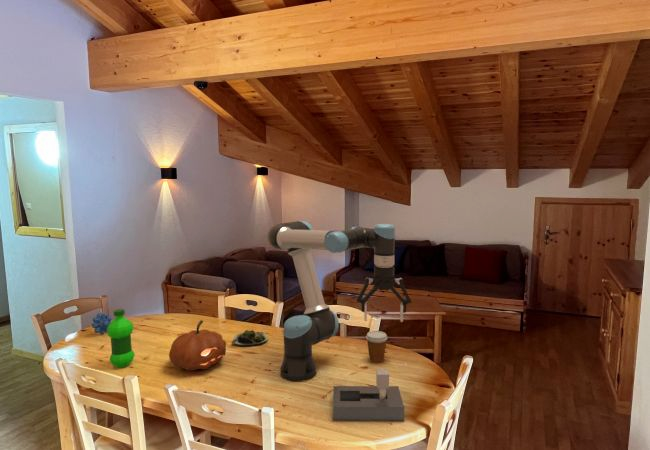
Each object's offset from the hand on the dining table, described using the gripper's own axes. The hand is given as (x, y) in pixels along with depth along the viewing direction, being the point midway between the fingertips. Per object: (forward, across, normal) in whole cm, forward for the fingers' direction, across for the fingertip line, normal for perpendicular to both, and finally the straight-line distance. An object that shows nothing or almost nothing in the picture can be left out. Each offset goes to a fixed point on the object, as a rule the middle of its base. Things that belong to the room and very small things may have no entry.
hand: (383, 320), depth 158 cm
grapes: (+29, -144, +50) cm, 155 cm away
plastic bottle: (+29, -114, +15) cm, 118 cm away
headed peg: (+28, -1, -14) cm, 31 cm away
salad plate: (+29, -64, +45) cm, 83 cm away
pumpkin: (+29, -80, +17) cm, 86 cm away
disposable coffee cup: (+28, -1, +26) cm, 38 cm away
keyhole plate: (+28, -6, -15) cm, 32 cm away
